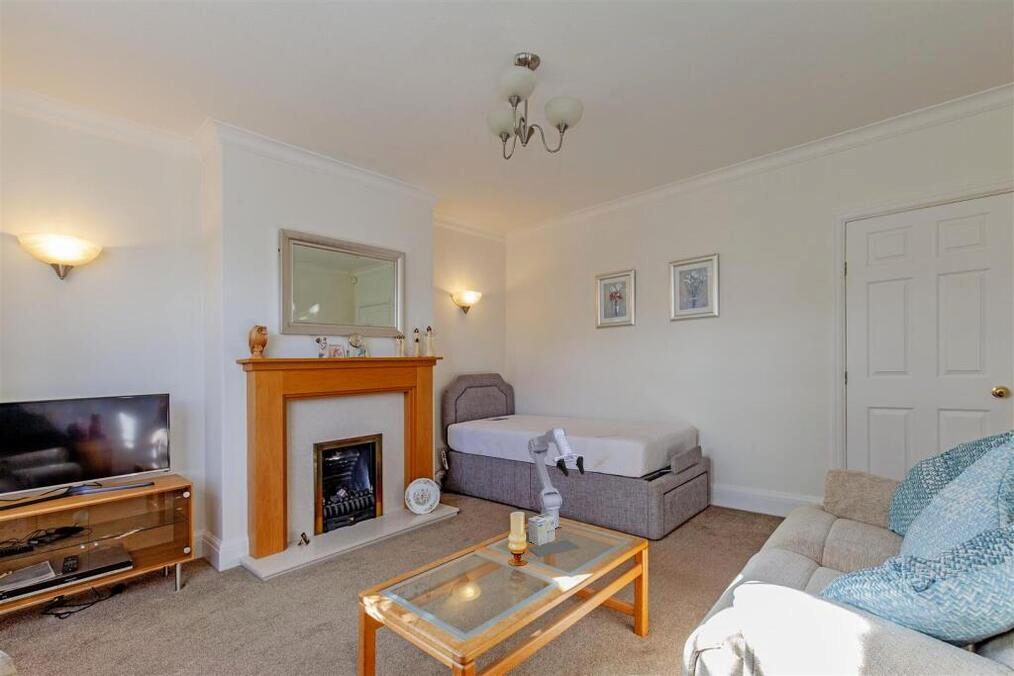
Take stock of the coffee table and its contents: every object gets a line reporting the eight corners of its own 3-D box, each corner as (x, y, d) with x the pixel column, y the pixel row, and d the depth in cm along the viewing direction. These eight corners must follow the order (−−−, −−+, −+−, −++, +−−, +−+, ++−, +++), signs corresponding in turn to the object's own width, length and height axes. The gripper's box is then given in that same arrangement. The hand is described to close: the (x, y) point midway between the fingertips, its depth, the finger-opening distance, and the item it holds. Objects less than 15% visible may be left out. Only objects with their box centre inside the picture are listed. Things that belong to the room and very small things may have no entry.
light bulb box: (545, 536, 221) (544, 512, 222) (555, 540, 216) (554, 515, 217) (528, 542, 214) (527, 517, 215) (538, 546, 209) (537, 521, 210)
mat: (527, 548, 207) (527, 548, 207) (566, 540, 215) (566, 539, 215) (539, 556, 197) (539, 556, 197) (580, 547, 206) (580, 547, 206)
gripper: (552, 445, 216) (562, 470, 207) (580, 442, 221) (592, 467, 211) (548, 455, 221) (558, 480, 211) (576, 452, 225) (587, 476, 216)
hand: (575, 474), depth 211 cm, fingers open, 7 cm apart
